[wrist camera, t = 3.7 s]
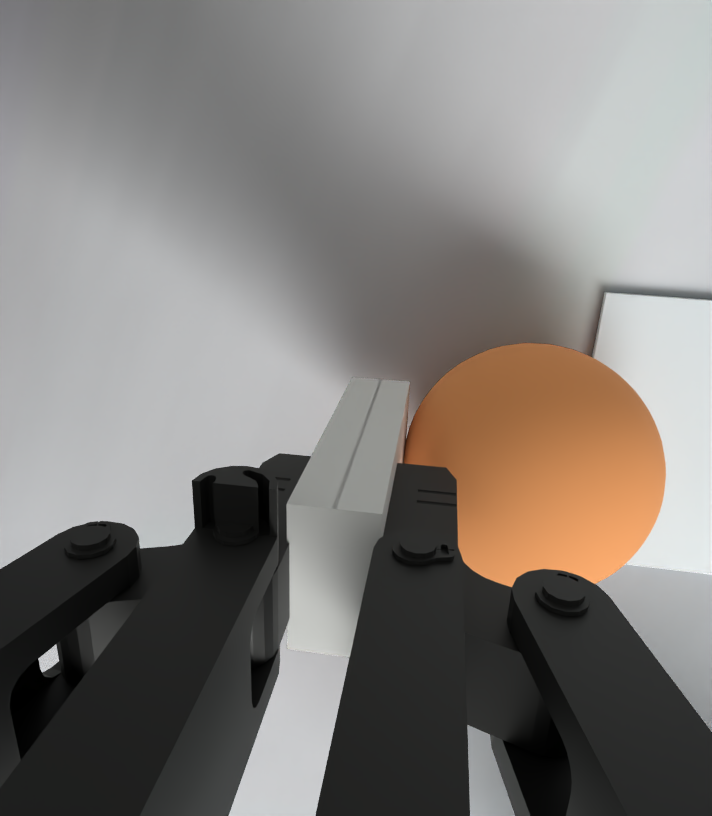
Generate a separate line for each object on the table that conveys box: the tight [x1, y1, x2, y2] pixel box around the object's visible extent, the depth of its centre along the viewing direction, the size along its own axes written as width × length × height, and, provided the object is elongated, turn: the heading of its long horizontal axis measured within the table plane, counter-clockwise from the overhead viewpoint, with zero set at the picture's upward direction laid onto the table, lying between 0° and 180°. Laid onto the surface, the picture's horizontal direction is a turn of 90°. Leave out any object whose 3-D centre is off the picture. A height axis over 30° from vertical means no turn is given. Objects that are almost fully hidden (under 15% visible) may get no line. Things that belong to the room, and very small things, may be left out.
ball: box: [404, 343, 666, 587], centre depth 15 cm, size 6×6×6 cm
